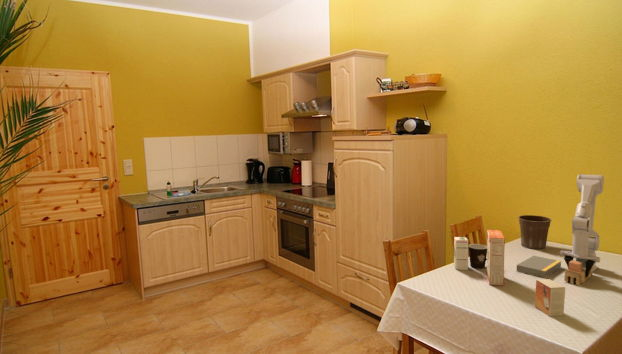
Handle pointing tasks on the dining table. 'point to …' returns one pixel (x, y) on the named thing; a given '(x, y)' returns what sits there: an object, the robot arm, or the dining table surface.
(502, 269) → the cracker box
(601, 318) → the dining table surface
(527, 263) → the dock
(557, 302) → the small box
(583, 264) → the green cube
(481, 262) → the coffee mug
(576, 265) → the brick block
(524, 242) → the plant pot
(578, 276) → the tan piece
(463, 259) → the syrup box
